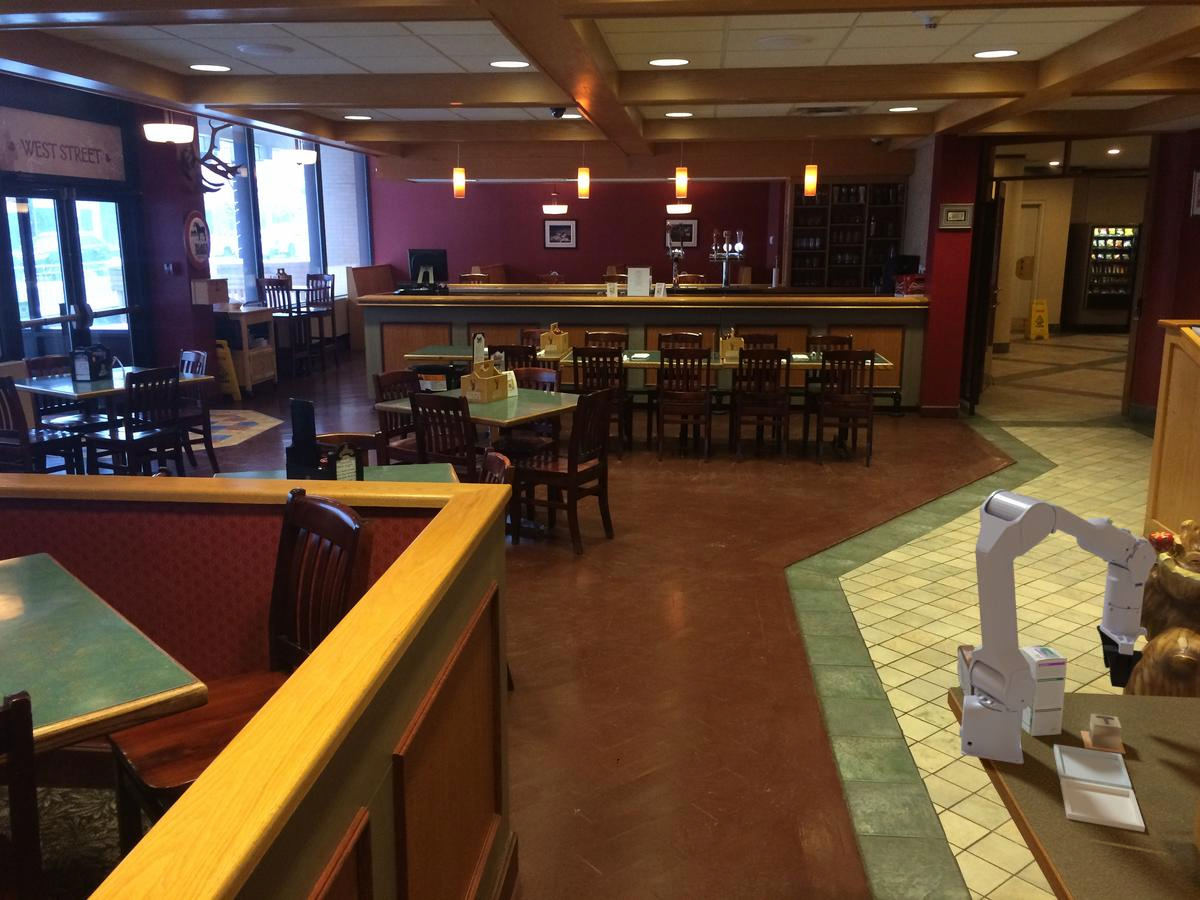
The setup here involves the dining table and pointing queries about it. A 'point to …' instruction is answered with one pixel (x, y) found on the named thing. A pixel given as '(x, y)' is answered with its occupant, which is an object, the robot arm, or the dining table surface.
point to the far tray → (1091, 766)
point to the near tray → (1101, 804)
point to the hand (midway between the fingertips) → (1114, 676)
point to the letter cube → (1105, 731)
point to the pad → (1089, 745)
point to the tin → (965, 668)
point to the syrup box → (1045, 690)
